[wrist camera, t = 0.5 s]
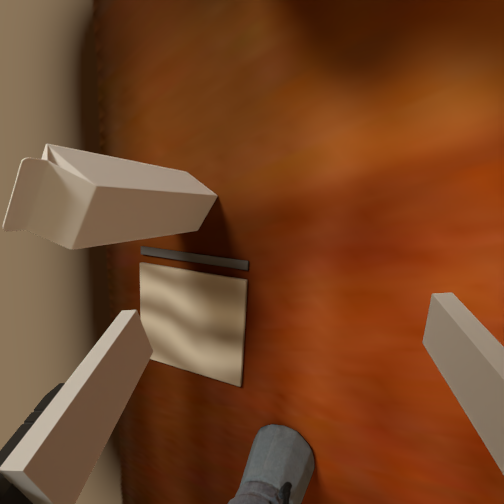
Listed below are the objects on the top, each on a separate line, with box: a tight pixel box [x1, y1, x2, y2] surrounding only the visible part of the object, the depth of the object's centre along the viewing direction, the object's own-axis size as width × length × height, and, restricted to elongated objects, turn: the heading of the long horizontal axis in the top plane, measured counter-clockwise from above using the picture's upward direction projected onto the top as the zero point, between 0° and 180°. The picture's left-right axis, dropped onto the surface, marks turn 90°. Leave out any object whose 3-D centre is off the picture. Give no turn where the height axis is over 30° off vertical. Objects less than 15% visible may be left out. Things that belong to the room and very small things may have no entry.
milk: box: [2, 144, 218, 250], centre depth 29 cm, size 6×6×22 cm
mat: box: [140, 246, 249, 387], centre depth 42 cm, size 19×18×1 cm
